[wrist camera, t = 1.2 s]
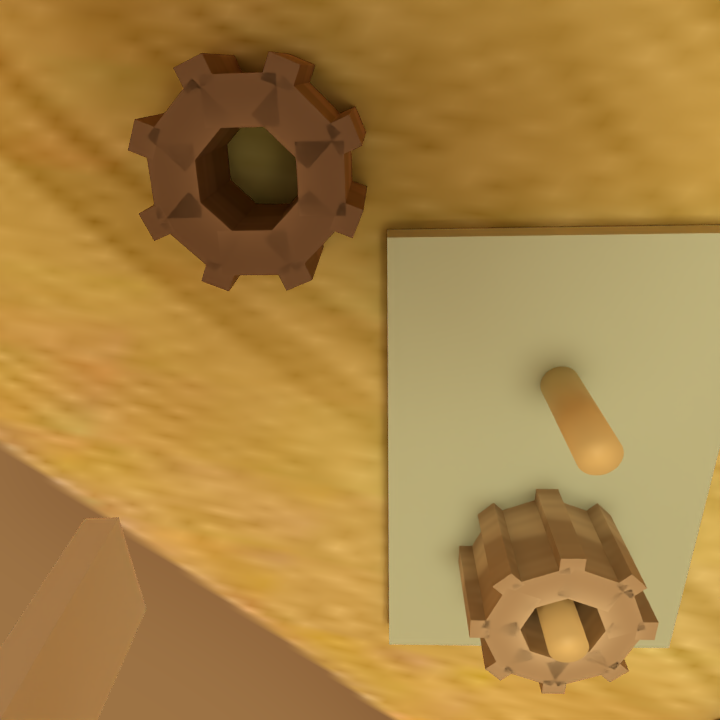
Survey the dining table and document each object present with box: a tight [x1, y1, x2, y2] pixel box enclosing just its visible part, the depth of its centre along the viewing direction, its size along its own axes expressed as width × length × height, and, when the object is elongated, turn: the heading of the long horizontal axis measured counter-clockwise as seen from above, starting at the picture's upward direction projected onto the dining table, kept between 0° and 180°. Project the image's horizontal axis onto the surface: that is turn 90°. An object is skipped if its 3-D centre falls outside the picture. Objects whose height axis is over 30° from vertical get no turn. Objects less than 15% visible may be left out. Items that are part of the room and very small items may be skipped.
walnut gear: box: [128, 51, 367, 291], centre depth 25 cm, size 8×8×5 cm
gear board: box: [387, 225, 720, 663], centre depth 30 cm, size 24×16×8 cm, turn 1°
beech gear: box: [458, 489, 659, 694], centre depth 32 cm, size 8×8×5 cm
